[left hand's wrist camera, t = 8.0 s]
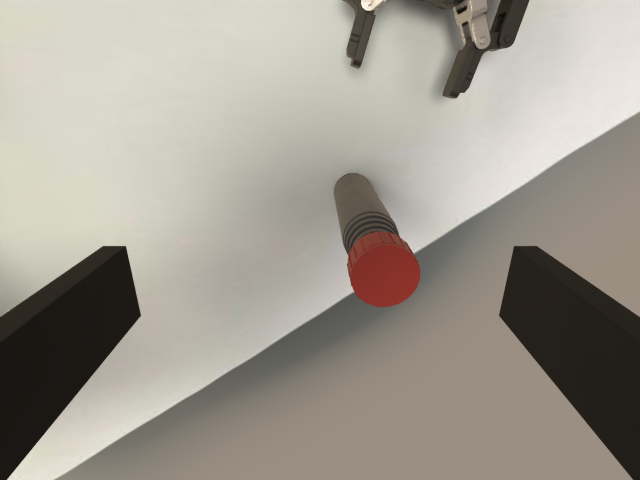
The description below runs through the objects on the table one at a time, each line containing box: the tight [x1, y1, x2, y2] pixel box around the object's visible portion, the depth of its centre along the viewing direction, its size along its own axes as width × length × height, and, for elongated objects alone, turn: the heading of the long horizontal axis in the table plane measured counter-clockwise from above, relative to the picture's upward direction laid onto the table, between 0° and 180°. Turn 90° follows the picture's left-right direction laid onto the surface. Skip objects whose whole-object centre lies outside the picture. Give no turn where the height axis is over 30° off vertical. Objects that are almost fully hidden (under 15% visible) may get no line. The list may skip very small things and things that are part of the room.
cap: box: [347, 231, 420, 307], centre depth 22 cm, size 4×4×2 cm
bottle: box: [334, 173, 399, 254], centre depth 31 cm, size 4×4×20 cm
